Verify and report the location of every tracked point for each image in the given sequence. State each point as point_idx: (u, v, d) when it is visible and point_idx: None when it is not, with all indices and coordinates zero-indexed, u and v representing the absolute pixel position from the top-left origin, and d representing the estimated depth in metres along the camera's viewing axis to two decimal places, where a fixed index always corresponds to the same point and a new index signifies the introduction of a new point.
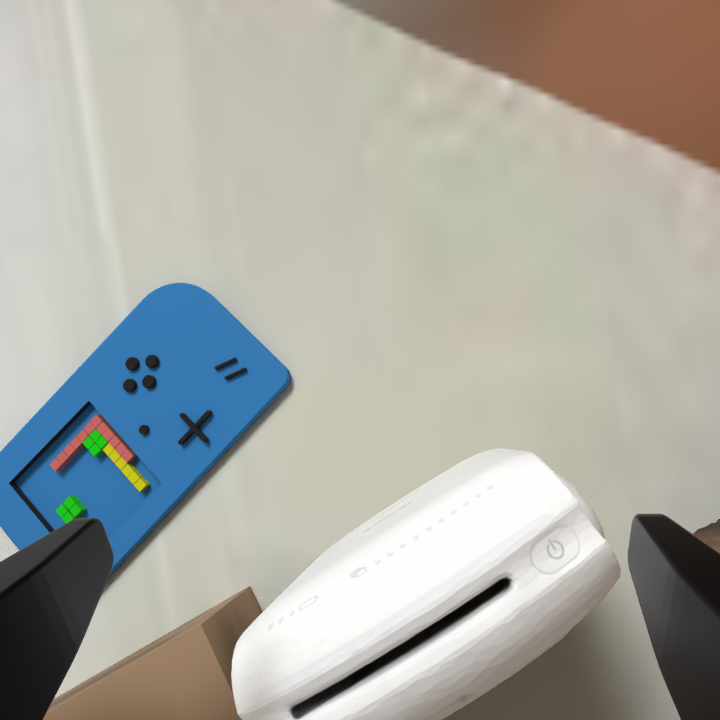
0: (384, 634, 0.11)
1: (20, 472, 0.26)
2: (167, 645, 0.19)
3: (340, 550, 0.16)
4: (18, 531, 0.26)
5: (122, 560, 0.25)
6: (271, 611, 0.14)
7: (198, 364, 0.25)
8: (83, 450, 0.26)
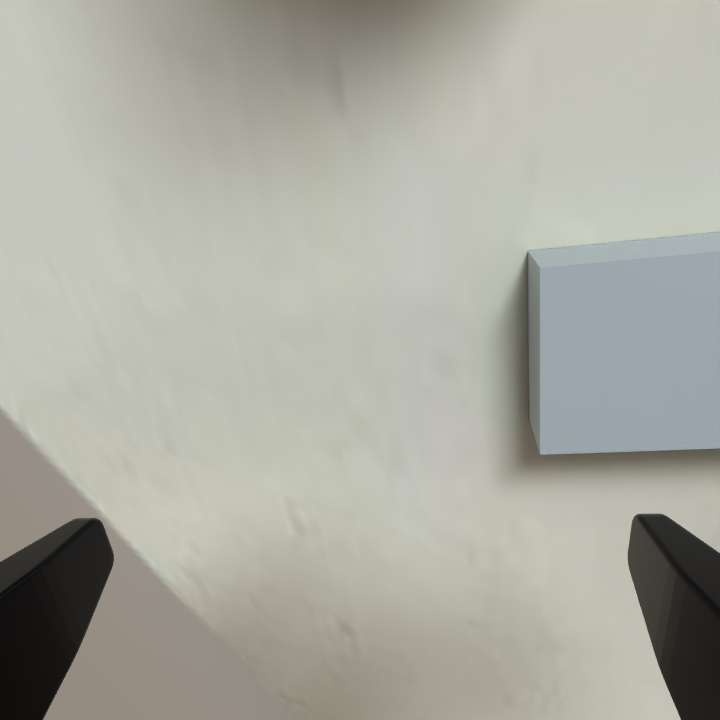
0: None
1: None
2: None
3: None
4: None
5: None
6: None
7: None
8: None
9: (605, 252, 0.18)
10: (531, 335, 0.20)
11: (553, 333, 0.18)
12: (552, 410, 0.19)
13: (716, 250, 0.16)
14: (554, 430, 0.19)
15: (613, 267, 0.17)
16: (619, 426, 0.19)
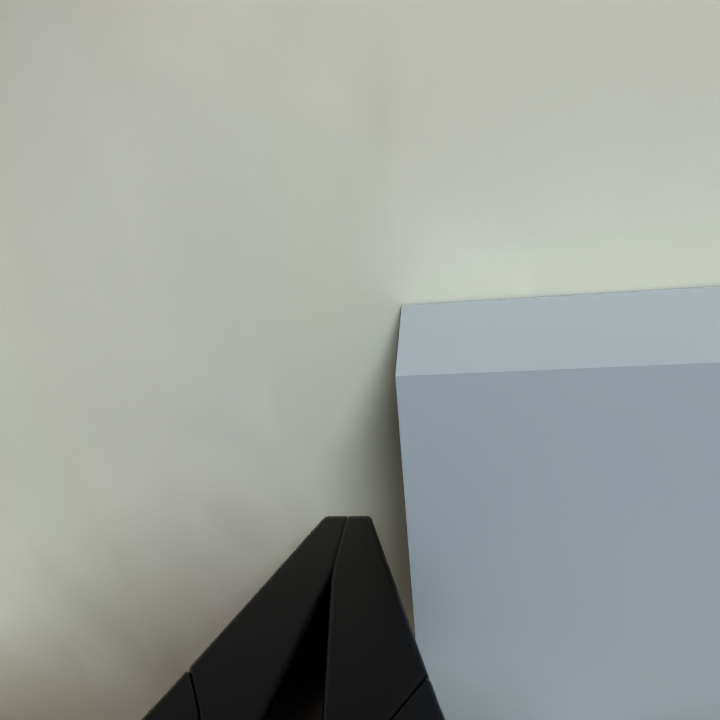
0: None
1: None
2: None
3: None
4: None
5: None
6: None
7: None
8: None
9: (576, 327, 0.07)
10: None
11: (440, 531, 0.07)
12: (446, 681, 0.08)
13: None
14: (453, 716, 0.08)
15: (597, 384, 0.06)
16: None
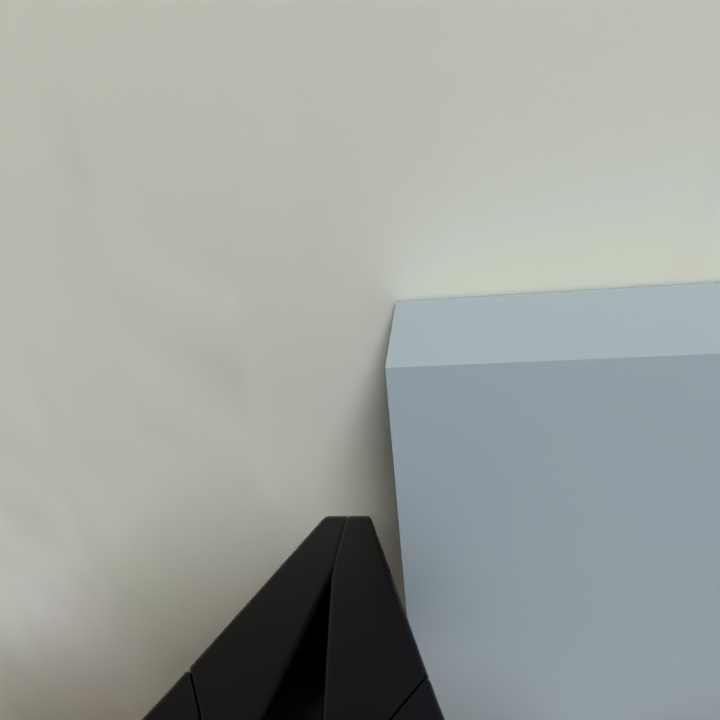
0: None
1: None
2: None
3: None
4: None
5: None
6: None
7: None
8: None
9: (563, 322, 0.07)
10: None
11: (430, 520, 0.07)
12: (438, 669, 0.08)
13: None
14: (445, 704, 0.09)
15: (580, 376, 0.06)
16: (588, 708, 0.08)
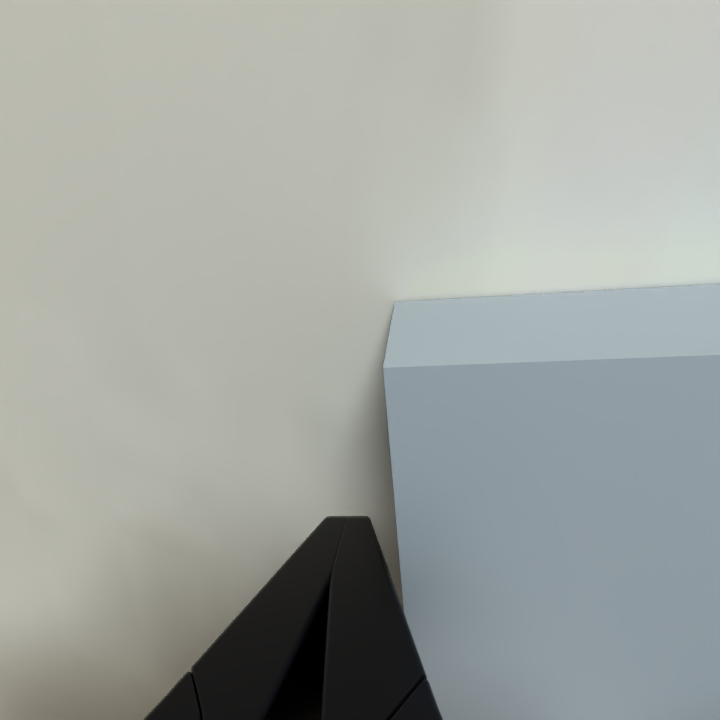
0: None
1: None
2: None
3: None
4: None
5: None
6: None
7: None
8: None
9: (561, 323, 0.07)
10: None
11: (428, 520, 0.07)
12: (436, 669, 0.08)
13: None
14: (442, 704, 0.09)
15: (577, 376, 0.06)
16: (585, 709, 0.08)
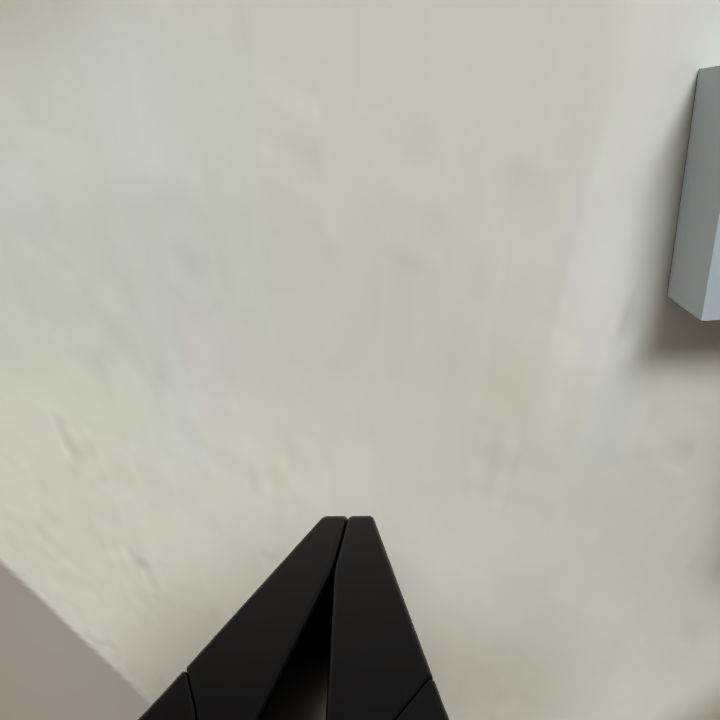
0: None
1: None
2: None
3: None
4: None
5: None
6: None
7: None
8: None
9: None
10: (694, 177, 0.16)
11: None
12: None
13: None
14: None
15: None
16: None
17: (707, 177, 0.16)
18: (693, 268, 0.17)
